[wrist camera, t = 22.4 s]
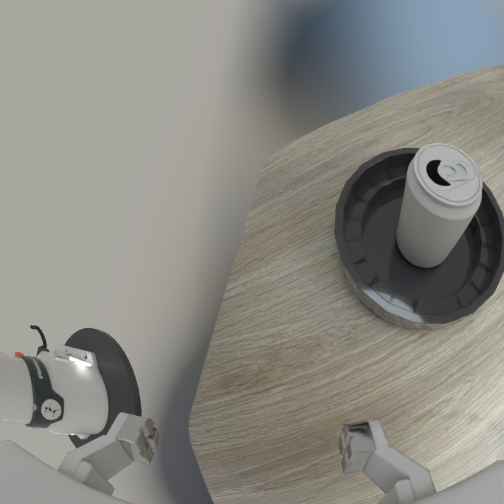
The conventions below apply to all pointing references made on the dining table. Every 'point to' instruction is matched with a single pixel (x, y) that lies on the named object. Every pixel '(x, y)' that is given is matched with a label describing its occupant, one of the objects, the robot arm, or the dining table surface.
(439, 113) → the dining table surface
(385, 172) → the grey shallow round dish
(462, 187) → the beverage can
